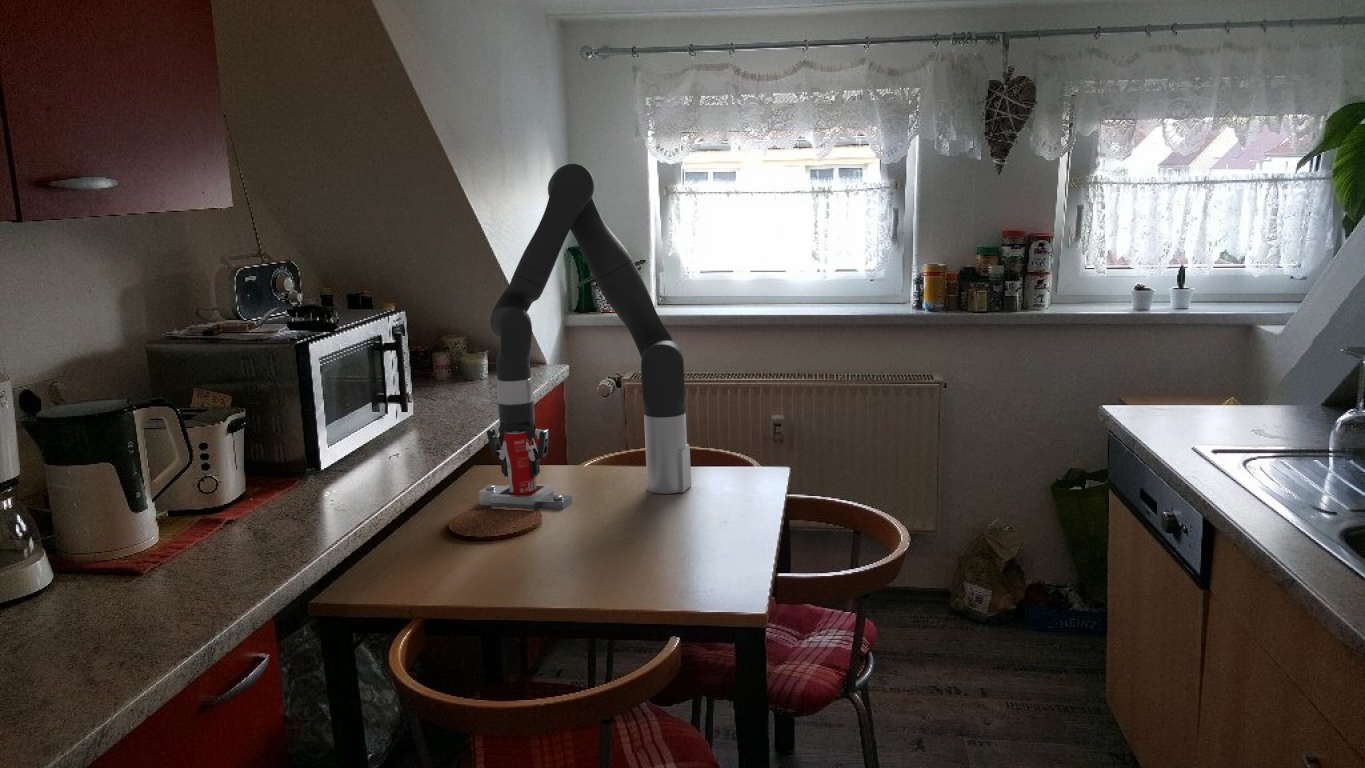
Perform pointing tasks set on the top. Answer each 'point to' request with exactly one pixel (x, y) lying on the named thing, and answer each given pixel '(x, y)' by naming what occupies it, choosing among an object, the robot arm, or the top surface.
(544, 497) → the bolted grey bracket
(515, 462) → the beverage can
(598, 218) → the robot arm
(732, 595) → the top surface
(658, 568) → the top surface
